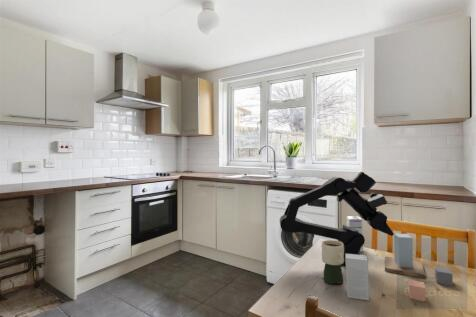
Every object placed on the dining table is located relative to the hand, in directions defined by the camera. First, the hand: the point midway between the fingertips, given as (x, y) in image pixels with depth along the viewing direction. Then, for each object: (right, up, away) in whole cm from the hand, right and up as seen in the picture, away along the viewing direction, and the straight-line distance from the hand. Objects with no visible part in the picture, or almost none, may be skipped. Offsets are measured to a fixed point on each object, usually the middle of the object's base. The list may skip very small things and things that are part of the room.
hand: (388, 231), depth 97 cm
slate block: (+5, -12, -1) cm, 13 cm away
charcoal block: (+11, -14, -12) cm, 21 cm away
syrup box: (-4, -14, +19) cm, 24 cm away
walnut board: (+5, -14, -1) cm, 14 cm away
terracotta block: (-4, -14, -20) cm, 25 cm away
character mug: (-25, -14, -10) cm, 30 cm away
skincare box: (-21, -14, -19) cm, 32 cm away
